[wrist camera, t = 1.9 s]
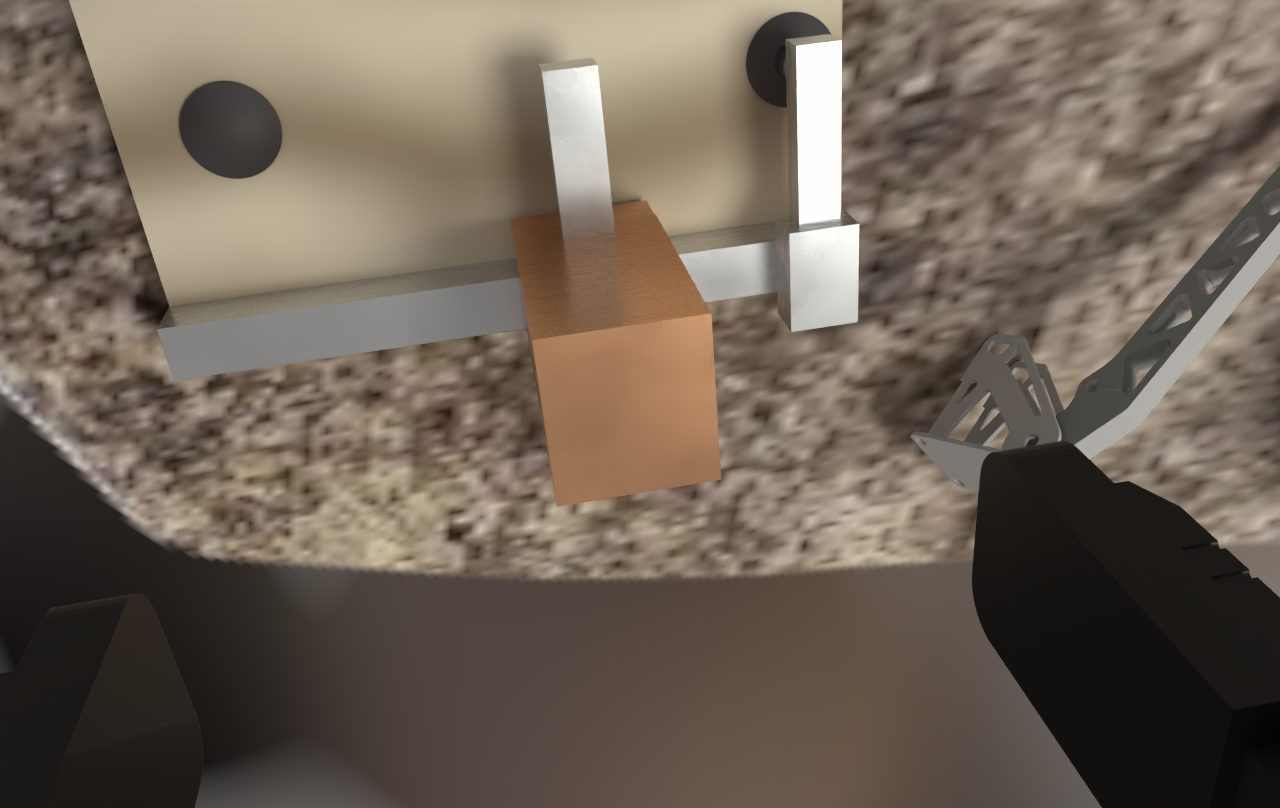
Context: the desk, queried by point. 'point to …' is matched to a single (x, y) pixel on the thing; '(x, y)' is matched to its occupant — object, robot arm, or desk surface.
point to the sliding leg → (611, 321)
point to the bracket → (1110, 392)
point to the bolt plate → (424, 125)
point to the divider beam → (491, 291)
